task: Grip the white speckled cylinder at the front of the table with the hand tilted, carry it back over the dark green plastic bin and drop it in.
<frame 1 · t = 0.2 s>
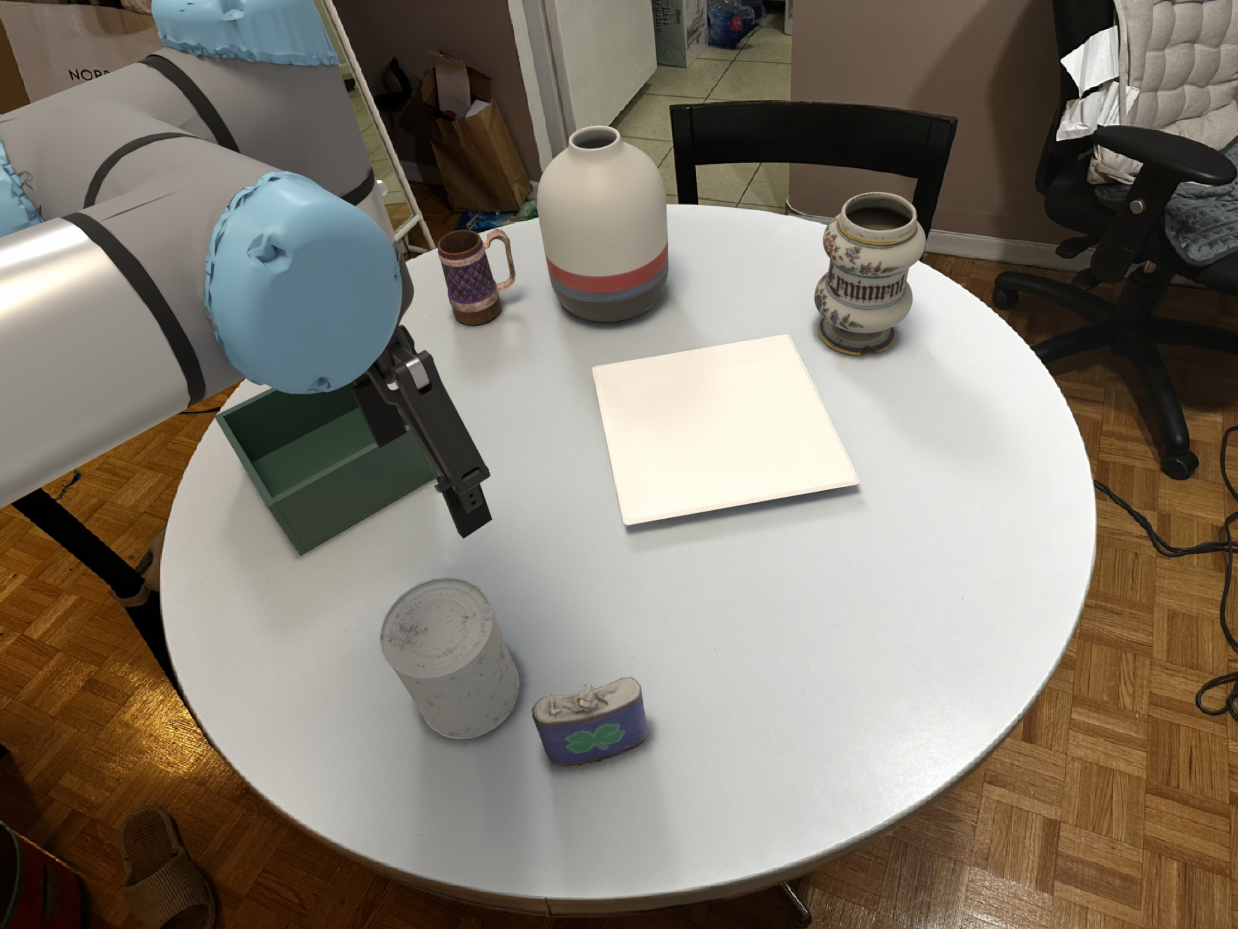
hand: (431, 480, 64), 21 cm above the table, tool pointing down, fingers open, 13 cm apart
flask: (598, 745, 70), on the table
white flat square slab: (714, 431, 94), on the table
mug: (488, 310, 114), on the table
bin: (341, 470, 95), on the table
apothecary jar: (856, 333, 104), on the table
vase: (611, 296, 113), on the table
white speckled cylinder: (470, 691, 74), on the table
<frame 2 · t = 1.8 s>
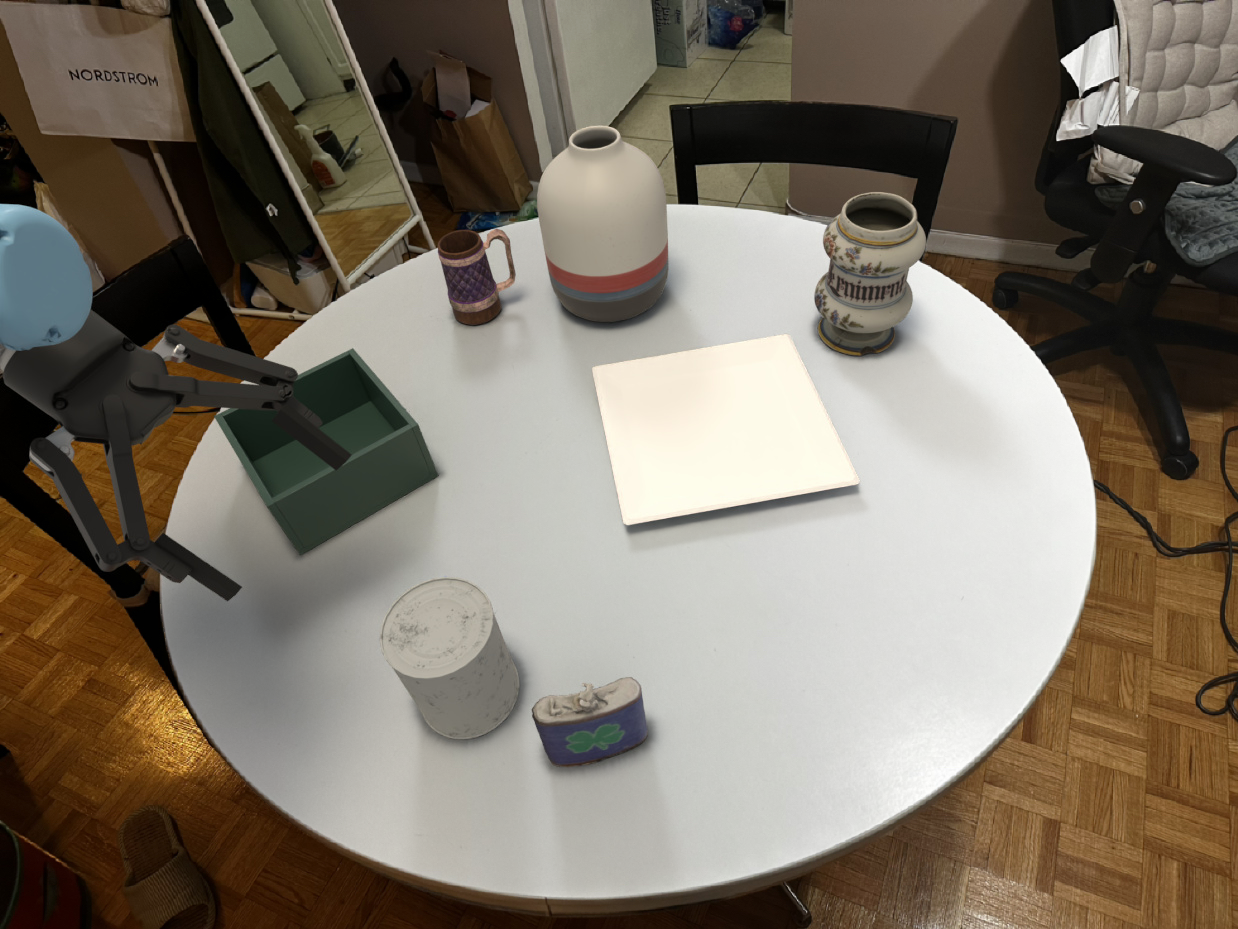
hand: (293, 524, 62), 21 cm above the table, tool tilted 45°, fingers open, 13 cm apart
nothing on the table moved.
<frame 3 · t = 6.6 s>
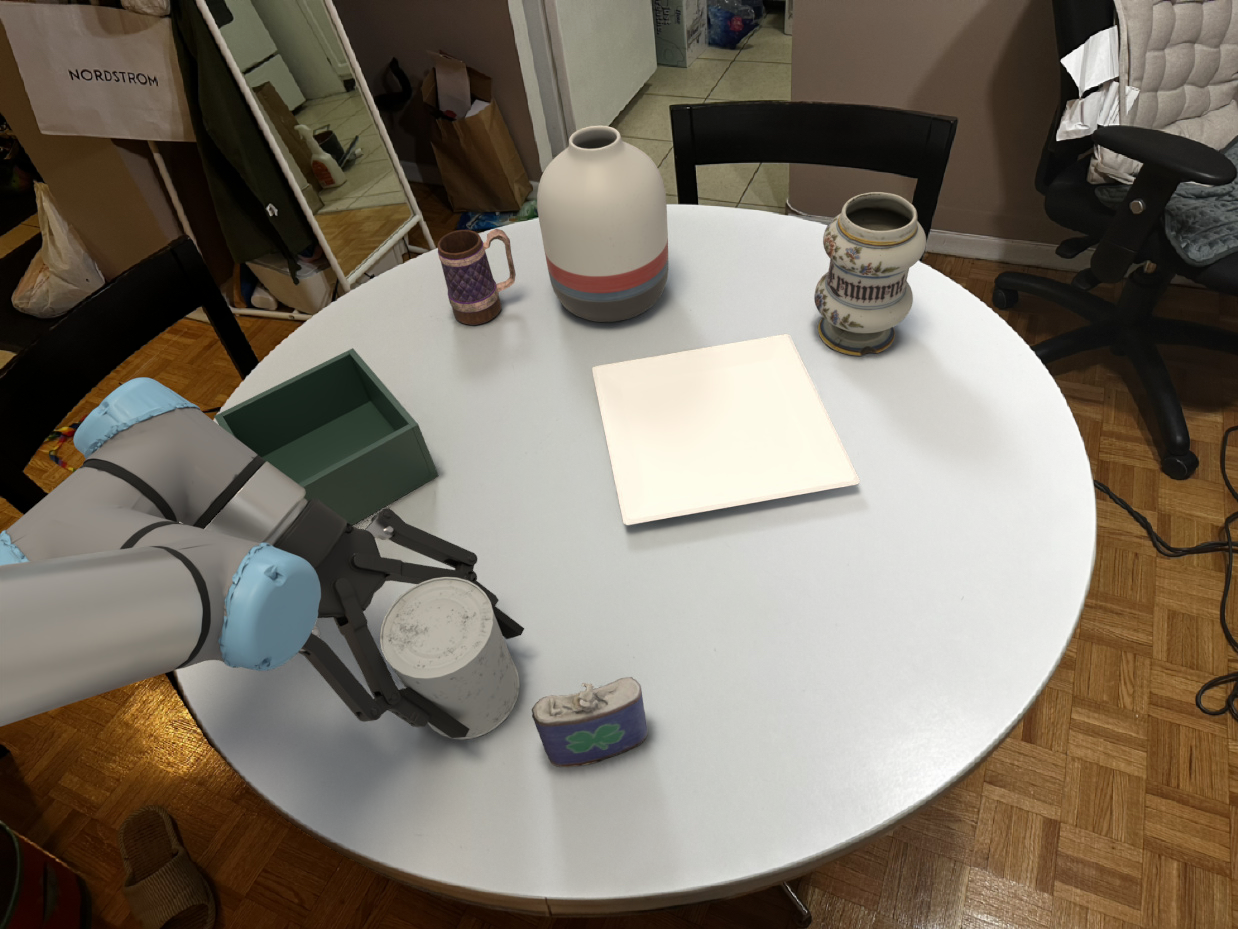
hand: (489, 681, 70), 4 cm above the table, tool tilted 45°, fingers closed on white speckled cylinder, 9 cm apart
white speckled cylinder: (470, 691, 74), on the table, touching gripper
everything else where it was.
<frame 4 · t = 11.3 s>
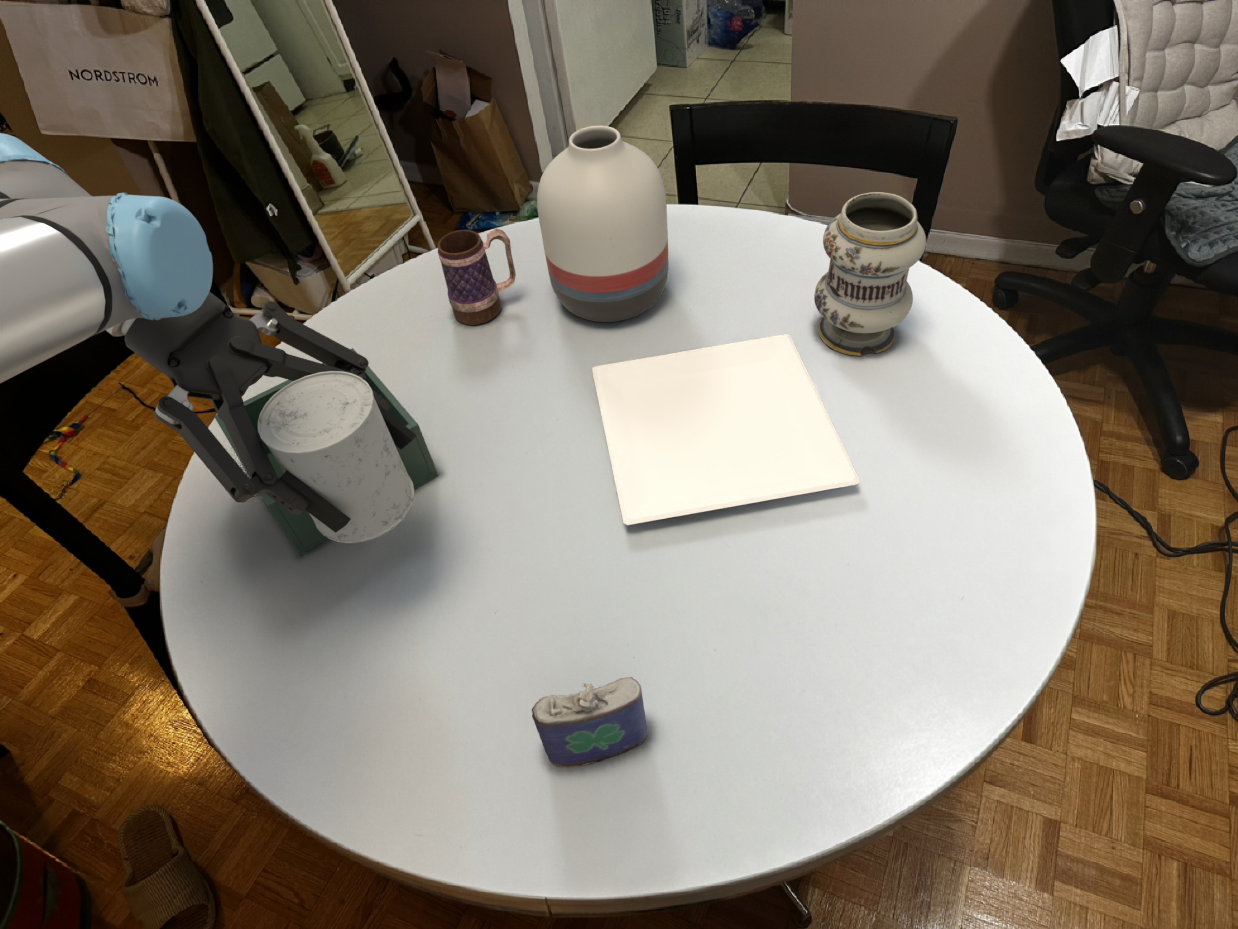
hand: (377, 482, 70), 17 cm above the table, tool tilted 45°, fingers closed on white speckled cylinder, 9 cm apart
white speckled cylinder: (364, 503, 74), point 13 cm above the table, touching gripper
everything else where it was.
when the fingers open (11 cm above the table, at t = 16.0 s): white speckled cylinder drops 5 cm, resting on bin.
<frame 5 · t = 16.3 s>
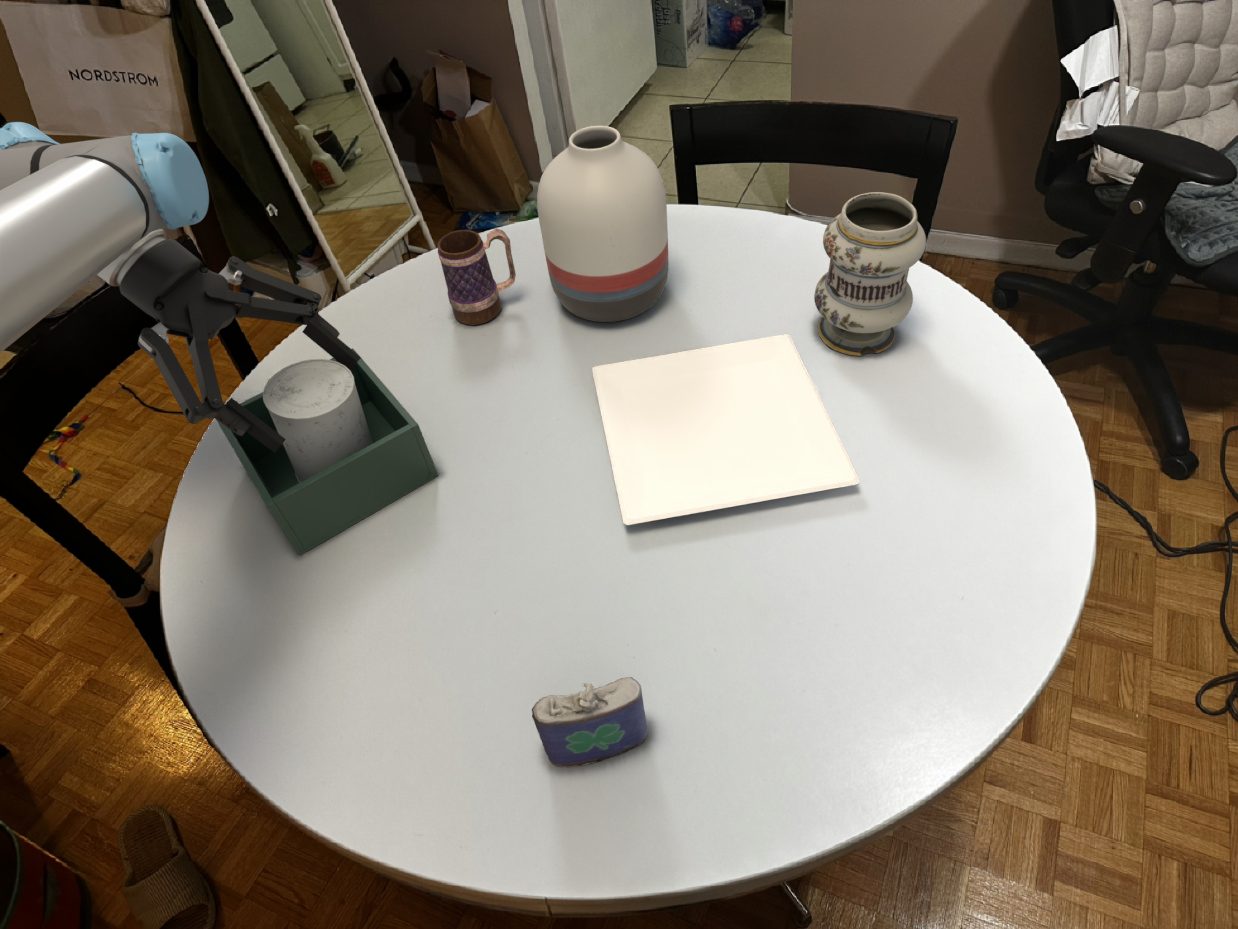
hand: (319, 403, 85), 12 cm above the table, tool tilted 45°, fingers open, 13 cm apart
white speckled cylinder: (337, 464, 94), point 1 cm above the table, touching bin
everything else where it was.
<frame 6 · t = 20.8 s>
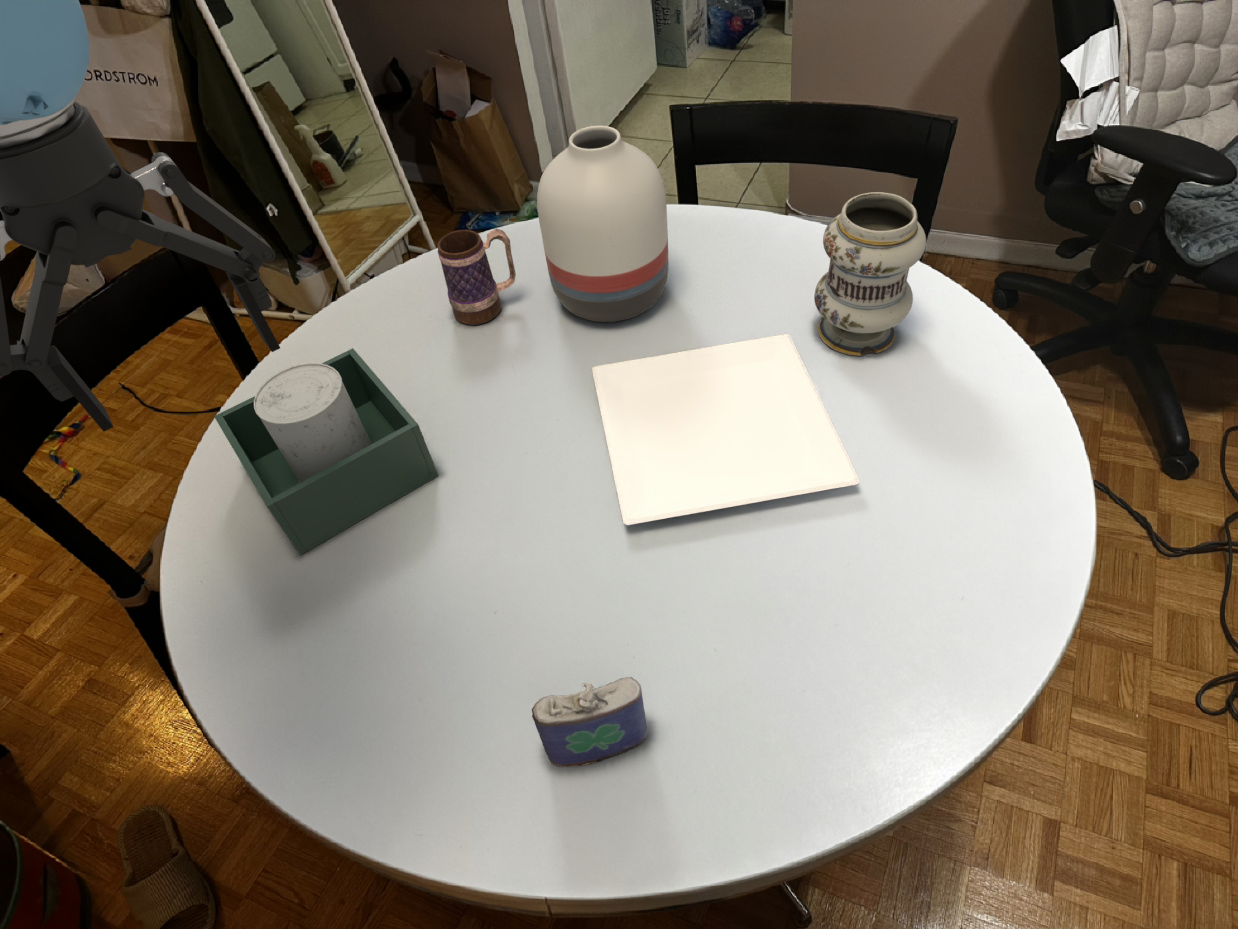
hand: (191, 380, 63), 29 cm above the table, tool pointing down, fingers open, 13 cm apart
at the end: white speckled cylinder inside the target area in the bin (0.1 cm from its centre), point 0.6 cm above the bin's base; the gripper is holding nothing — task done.
